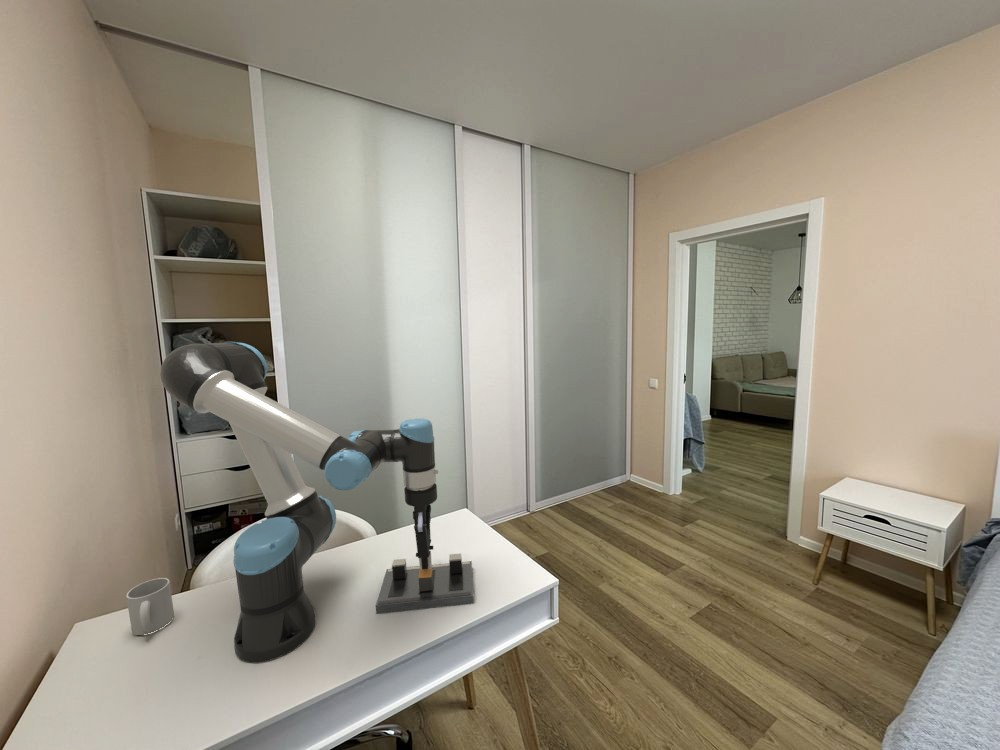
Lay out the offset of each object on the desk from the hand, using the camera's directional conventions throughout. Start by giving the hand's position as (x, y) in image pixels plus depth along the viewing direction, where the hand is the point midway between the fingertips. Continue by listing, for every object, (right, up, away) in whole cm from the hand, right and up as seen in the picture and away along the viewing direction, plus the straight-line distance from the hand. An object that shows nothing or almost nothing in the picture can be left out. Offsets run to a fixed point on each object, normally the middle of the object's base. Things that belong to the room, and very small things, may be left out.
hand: (426, 578), depth 97 cm
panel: (0, -3, +1) cm, 3 cm away
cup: (-59, -7, -8) cm, 60 cm away
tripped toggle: (0, -1, -2) cm, 2 cm away
